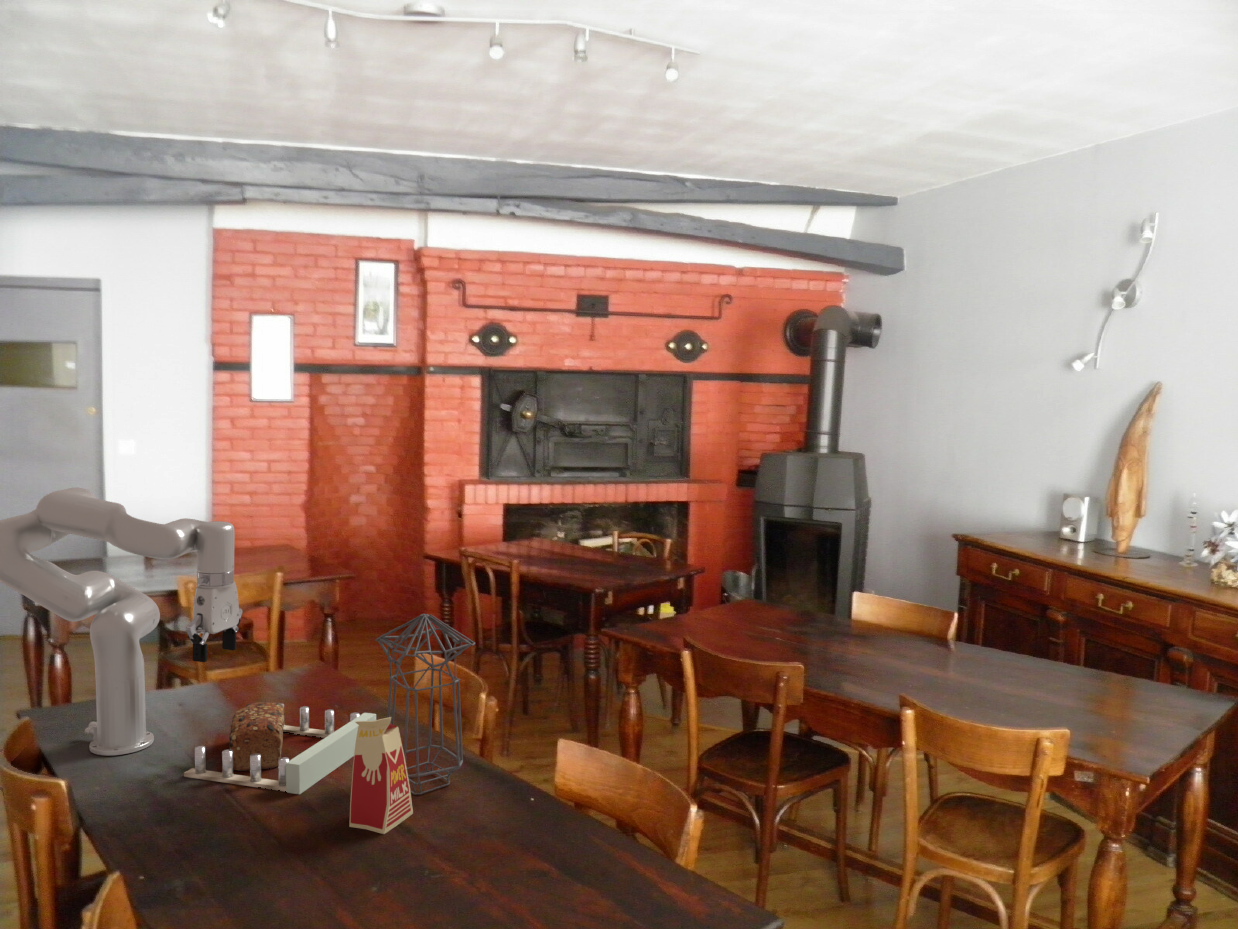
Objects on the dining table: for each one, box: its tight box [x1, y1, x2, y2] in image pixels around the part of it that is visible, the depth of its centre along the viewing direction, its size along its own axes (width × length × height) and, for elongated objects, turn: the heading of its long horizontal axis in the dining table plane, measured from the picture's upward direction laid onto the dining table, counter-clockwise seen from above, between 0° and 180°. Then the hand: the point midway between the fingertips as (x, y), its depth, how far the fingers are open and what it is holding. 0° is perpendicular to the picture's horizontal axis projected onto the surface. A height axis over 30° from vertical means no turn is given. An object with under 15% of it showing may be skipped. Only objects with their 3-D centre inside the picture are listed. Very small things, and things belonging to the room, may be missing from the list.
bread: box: [228, 701, 286, 772], centre depth 206 cm, size 19×11×10 cm, turn 17°
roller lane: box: [183, 702, 377, 795], centre depth 205 cm, size 27×30×6 cm
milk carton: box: [348, 716, 414, 835], centre depth 176 cm, size 9×9×20 cm
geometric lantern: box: [374, 613, 476, 796], centre depth 192 cm, size 16×16×35 cm
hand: (214, 655), depth 209 cm, fingers open, 9 cm apart
